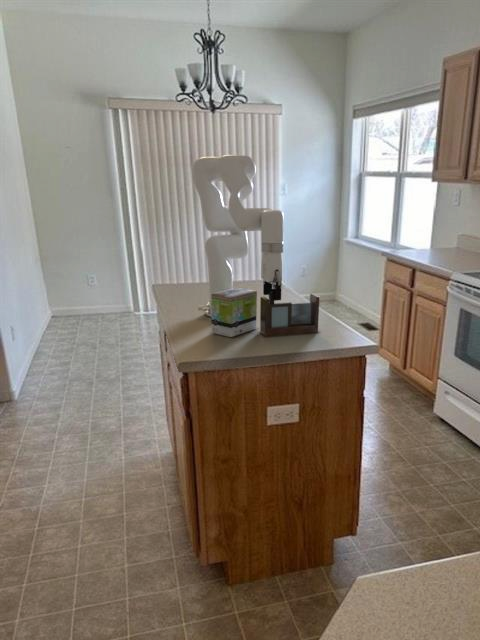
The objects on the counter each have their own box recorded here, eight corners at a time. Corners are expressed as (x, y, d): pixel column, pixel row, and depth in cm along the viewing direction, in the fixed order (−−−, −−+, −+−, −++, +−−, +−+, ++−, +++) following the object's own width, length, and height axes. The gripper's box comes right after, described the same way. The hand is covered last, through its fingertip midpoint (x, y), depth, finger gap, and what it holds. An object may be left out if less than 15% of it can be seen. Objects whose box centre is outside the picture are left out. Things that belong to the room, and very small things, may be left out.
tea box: (233, 338, 189) (232, 297, 184) (211, 333, 194) (209, 293, 188) (257, 328, 201) (257, 289, 196) (236, 324, 206) (235, 286, 200)
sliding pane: (268, 331, 192) (269, 293, 187) (267, 330, 194) (267, 292, 188) (291, 329, 195) (292, 292, 190) (289, 328, 196) (290, 291, 191)
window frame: (265, 336, 192) (265, 299, 187) (260, 332, 197) (260, 296, 192) (317, 332, 198) (319, 296, 193) (311, 328, 204) (313, 293, 199)
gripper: (254, 245, 189) (254, 293, 195) (269, 251, 173) (269, 303, 180) (274, 244, 191) (274, 292, 197) (291, 250, 176) (290, 301, 182)
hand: (272, 297), depth 188 cm, fingers open, 9 cm apart
